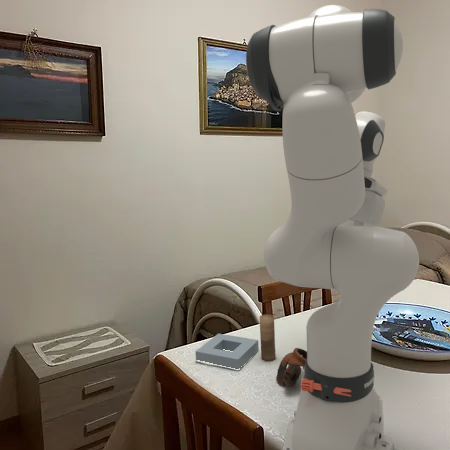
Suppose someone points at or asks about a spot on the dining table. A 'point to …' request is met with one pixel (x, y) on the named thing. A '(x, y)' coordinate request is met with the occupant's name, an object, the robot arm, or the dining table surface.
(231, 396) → the dining table surface
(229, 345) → the socket block
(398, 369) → the dining table surface
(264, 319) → the peg
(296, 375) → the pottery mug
